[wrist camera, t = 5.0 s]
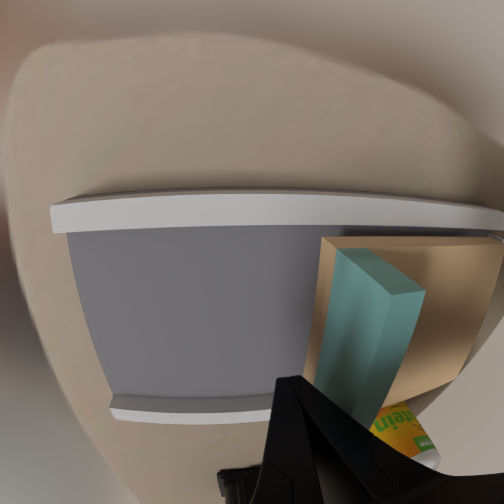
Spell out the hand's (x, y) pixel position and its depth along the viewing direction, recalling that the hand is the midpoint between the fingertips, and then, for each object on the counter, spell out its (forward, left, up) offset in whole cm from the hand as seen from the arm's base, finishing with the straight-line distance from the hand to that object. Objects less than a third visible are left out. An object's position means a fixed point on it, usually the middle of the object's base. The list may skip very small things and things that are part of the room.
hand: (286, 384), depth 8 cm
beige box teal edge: (0, -6, -3) cm, 7 cm away
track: (0, -3, -4) cm, 5 cm away
